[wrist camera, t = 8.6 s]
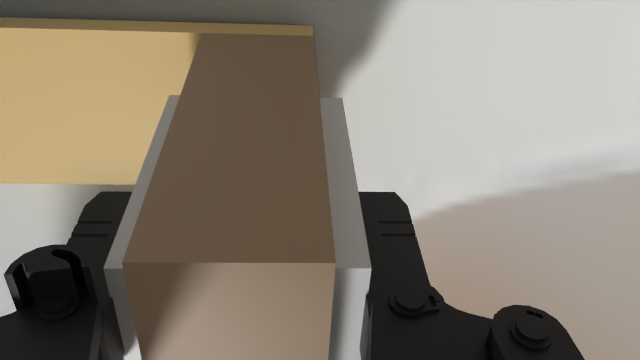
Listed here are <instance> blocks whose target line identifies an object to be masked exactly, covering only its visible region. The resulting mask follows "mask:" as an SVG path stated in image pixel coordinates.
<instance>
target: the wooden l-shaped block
mask: <svg viewBox="0 0 640 360" xmlns="http://www.w3.org/2000/svg"><path fill="white" fill-rule="evenodd" d="M169 95H180V97H179V100H178V103H177V106H176V109H175V112H174V115H173V117H172V120H171V123H170V126H169V129H168V132H167V135H166V138H165V140H164V143H163V146H162V149H161V152H160V155H159V158H158V160H157V163H156V166H155V169H154V172H153V175H152V178H151V181H150V183H149V186H148V189H147V192H146V195H145V198H144V201H143V204H142V206H141V209H140V212H139V215H138V218H137V221H136V224H135V227H134V229H133V232H132V235H131V238H130V241H129V244H128V247H127V250H126V252H125V255H124V258H123V261H122V265H123V270H124V275H125V280H126V285H127V290H128V295H129V300H130V305H131V310H132V315H133V320H134V324H135V329H136V334H137V339H138V344H139V349H140V354H141V359H142V360H328V355H329V343H330V330H331V318H332V305H333V293H334V280H335V267H336V259H335V249H334V239H333V229H332V218H331V208H330V198H329V188H328V178H327V167H326V157H325V147H324V137H323V127H322V116H321V106H320V96H319V86H318V76H317V65H316V55H315V45H314V35H313V26H307V25H270V24H234V23H197V22H160V21H124V20H87V19H50V18H14V17H0V183H17V184H116V185H135V184H136V181H137V179H138V176H139V173H140V171H141V168H142V165H143V163H144V160H145V158H146V155H147V152H148V150H149V147H150V144H151V142H152V139H153V136H154V134H155V131H156V129H157V126H158V123H159V121H160V118H161V115H162V113H163V110H164V108H165V105H166V102H167V100H168V97H169Z"/></svg>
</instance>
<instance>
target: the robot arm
mask: <svg viewBox="0 0 640 360" xmlns="http://www.w3.org/2000/svg"><path fill="white" fill-rule="evenodd" d="M179 97H180V95H169V97H168V100H167V102H166V105H165V108H164V110H163V113H162V115H161V118H160V121H159V123H158V126H157V129H156V131H155V134H154V136H153V139H152V142H151V144H150V147H149V150H148V152H147V155H146V158H145V160H144V163H143V165H142V168H141V171H140V173H139V176H138V179H137V181H136V184H135V187H134V189H133V192H100V193H99V194H98V195H97V196H96V197H94V198H93V199H92V200H91V201H90V202H89V203H87V204H86V205H85V207H84V209H83V211H82V213H81V215H80V217H79V219H78V224H76V226H75V228H74V230H73V232H72V234H71V235H72V236H71V238H69V240H68V242H67V244H66V245H50V246H45V247H40V248H37V249H34V250H32V251H30V252H28V253H25V254H23V255H22V256H21V257H19V258H18V259H17V260H15V261H14V262H13V263H12V264H11V265H10V266H9V268H8V269H7V271H6V272H5V274H4V277H5V279H6V282H7V285H8V288H9V290H10V293H11V296H12V299H13V301H14V304H15V307H16V310H17V311H16V312H14V313H12V314H8V315H5V316H2V317H0V360H122V358H123V356H124V360H142V359H141V354H140V349H139V344H138V339H137V334H136V329H135V324H134V320H133V315H132V310H131V305H130V300H129V295H128V290H127V285H126V280H125V275H124V270H123V265H122V261H123V258H124V255H125V252H126V250H127V247H128V244H129V241H130V238H131V235H132V232H133V229H134V227H135V224H136V221H137V218H138V215H139V212H140V209H141V206H142V204H143V201H144V198H145V195H146V192H147V189H148V186H149V183H150V181H151V178H152V175H153V172H154V169H155V166H156V163H157V160H158V158H159V155H160V152H161V149H162V146H163V143H164V140H165V138H166V135H167V132H168V129H169V126H170V123H171V120H172V117H173V115H174V112H175V109H176V106H177V103H178V100H179ZM320 106H321V116H322V127H323V137H324V147H325V157H326V167H327V178H328V188H329V198H330V208H331V218H332V229H333V239H334V249H335V259H336V267H335V280H334V293H333V305H332V318H331V330H330V343H329V355H328V360H360V357H361V360H585V359H584V358H583V356H582V355H581V353H580V351H579V350H578V348H577V347H576V345H575V343H574V342H573V340H572V338H571V337H570V335H569V334H568V332H567V330H566V329H565V328H564V327H563V326H562V325H561V324H560V322H559V321H558V320H557V319H555V318H554V317H552V316H551V315H549V314H548V313H546V312H545V311H542V310H539V309H537V308H533V307H531V306H523V305H512V306H509V307H504V308H502V309H501V310H500V311H498V312H497V313H496V314H495V315H494V317H493V319H489V318H485V317H481V316H477V315H473V314H469V313H466V312H463V311H460V310H457V309H455V308H454V307H452V306H450V305H448V304H446V303H445V302H444V299H443V297H442V296H441V295H440V294H439V292H437V290H436V289H435V288H434V287H432V286H431V285H430V283H429V280H428V276H427V273H426V269H425V266H424V262H423V259H422V255H421V251H420V248H419V245H418V241H417V237H415V230H414V227H413V224H412V220H411V216H410V213H409V209H408V206H407V205H406V204H405V203H404V201H403V200H402V199H401V198H400V197H399V196H398V195H397V194H396V193H395V192H358V187H357V181H356V175H355V170H354V164H353V158H352V152H351V147H350V141H349V135H348V129H347V123H346V118H345V112H344V106H343V100H342V98H320Z"/></svg>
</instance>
